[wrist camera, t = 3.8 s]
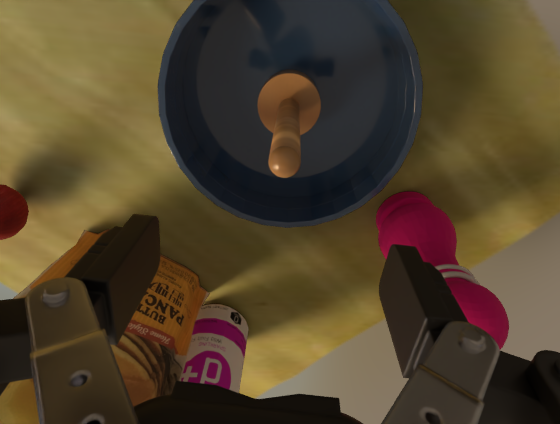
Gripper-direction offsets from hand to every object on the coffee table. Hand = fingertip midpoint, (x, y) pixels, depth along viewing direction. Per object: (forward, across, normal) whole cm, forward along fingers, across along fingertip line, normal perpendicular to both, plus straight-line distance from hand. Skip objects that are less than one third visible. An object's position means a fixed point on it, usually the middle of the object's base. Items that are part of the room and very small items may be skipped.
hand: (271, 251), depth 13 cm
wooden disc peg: (+25, 0, 0) cm, 25 cm away
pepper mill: (+26, -14, +11) cm, 31 cm away
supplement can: (+26, +6, +30) cm, 40 cm away
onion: (+26, +29, +14) cm, 41 cm away
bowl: (+26, 0, 0) cm, 26 cm away
